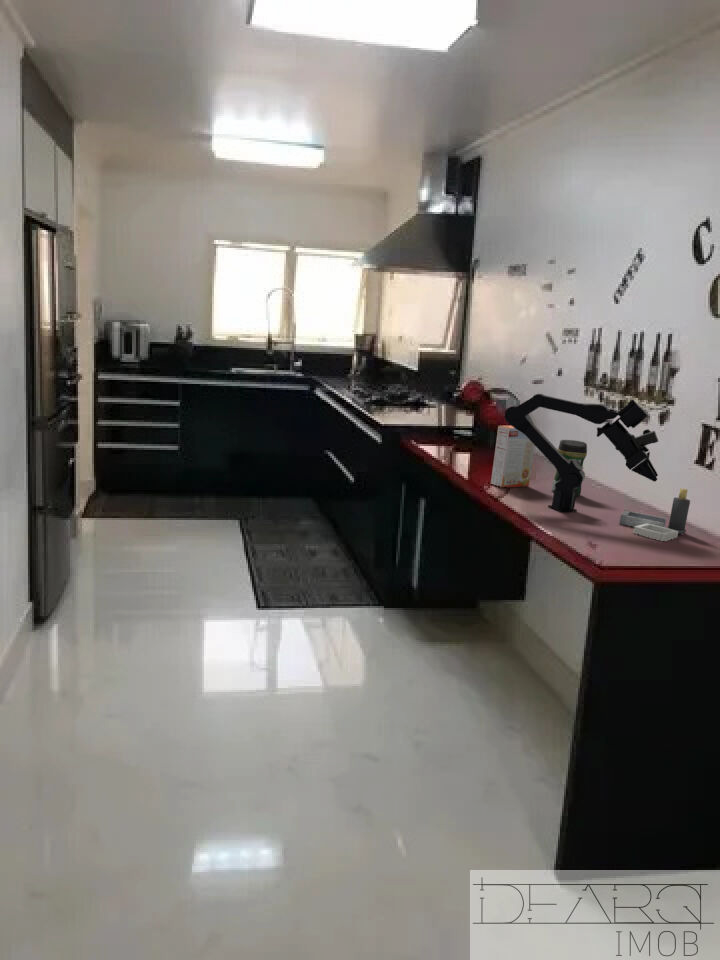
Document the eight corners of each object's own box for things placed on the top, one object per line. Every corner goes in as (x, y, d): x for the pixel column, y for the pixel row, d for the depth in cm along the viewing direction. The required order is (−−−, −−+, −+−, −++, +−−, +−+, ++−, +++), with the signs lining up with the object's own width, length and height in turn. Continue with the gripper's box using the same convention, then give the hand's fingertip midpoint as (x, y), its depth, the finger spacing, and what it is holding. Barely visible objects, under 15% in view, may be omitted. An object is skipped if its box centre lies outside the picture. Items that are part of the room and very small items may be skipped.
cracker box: (516, 483, 284) (525, 425, 280) (529, 486, 279) (538, 427, 275) (488, 484, 276) (497, 424, 271) (501, 488, 271) (510, 427, 267)
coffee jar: (576, 492, 278) (585, 440, 275) (582, 497, 271) (591, 443, 267) (549, 489, 279) (557, 437, 275) (553, 494, 271) (562, 440, 267)
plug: (676, 535, 230) (685, 491, 228) (662, 530, 235) (670, 487, 232) (688, 534, 233) (697, 491, 230) (674, 529, 237) (682, 487, 235)
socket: (664, 541, 220) (665, 534, 220) (633, 533, 226) (634, 526, 226) (677, 537, 227) (678, 531, 227) (646, 529, 233) (647, 523, 233)
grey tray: (619, 524, 236) (620, 515, 236) (623, 518, 244) (625, 510, 244) (661, 532, 231) (663, 523, 231) (664, 527, 239) (666, 518, 239)
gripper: (642, 423, 227) (679, 465, 225) (644, 418, 244) (678, 457, 242) (610, 448, 231) (647, 489, 229) (614, 442, 248) (648, 480, 246)
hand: (656, 478), depth 236 cm, fingers open, 9 cm apart
